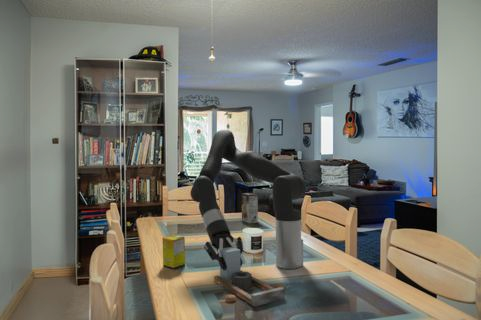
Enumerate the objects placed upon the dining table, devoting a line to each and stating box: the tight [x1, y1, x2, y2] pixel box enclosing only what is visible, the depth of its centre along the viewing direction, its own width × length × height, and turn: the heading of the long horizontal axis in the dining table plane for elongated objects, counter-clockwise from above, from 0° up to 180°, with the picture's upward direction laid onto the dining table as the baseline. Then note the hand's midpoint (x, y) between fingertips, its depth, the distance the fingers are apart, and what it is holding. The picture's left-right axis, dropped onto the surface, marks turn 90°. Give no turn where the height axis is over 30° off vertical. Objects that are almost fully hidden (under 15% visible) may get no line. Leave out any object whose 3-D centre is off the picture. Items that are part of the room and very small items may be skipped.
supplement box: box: [162, 234, 186, 270], centre depth 145 cm, size 6×6×11 cm
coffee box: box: [241, 192, 259, 224], centre depth 226 cm, size 9×6×16 cm
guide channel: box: [213, 274, 286, 307], centre depth 122 cm, size 20×24×3 cm
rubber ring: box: [231, 270, 253, 291], centre depth 124 cm, size 6×6×4 cm
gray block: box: [219, 247, 242, 283], centre depth 131 cm, size 5×5×10 cm
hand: (232, 267), depth 129 cm, fingers closed on gray block, 5 cm apart
